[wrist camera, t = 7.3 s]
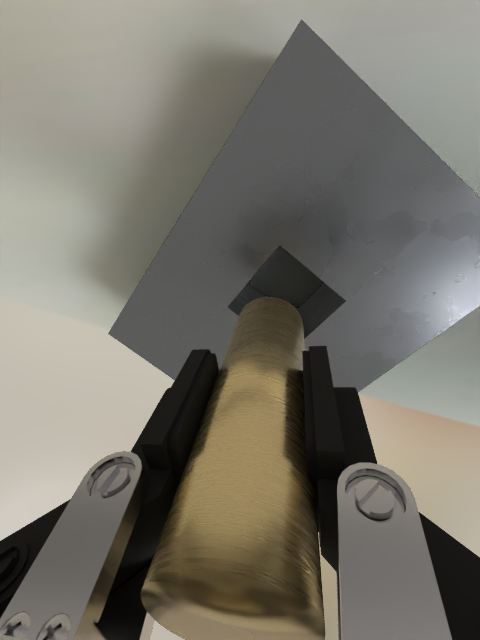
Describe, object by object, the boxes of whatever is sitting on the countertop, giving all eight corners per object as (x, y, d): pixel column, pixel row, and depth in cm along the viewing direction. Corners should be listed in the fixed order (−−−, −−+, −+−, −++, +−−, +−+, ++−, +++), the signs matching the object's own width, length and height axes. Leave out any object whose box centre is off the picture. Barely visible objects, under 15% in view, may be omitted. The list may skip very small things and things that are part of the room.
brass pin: (317, 324, 13) (368, 641, 4) (273, 365, 15) (246, 670, 6) (264, 283, 13) (204, 546, 4) (224, 329, 14) (111, 603, 5)
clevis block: (482, 237, 17) (543, 260, 13) (279, 402, 26) (275, 450, 21) (301, 61, 15) (301, 19, 11) (143, 302, 24) (108, 333, 19)
